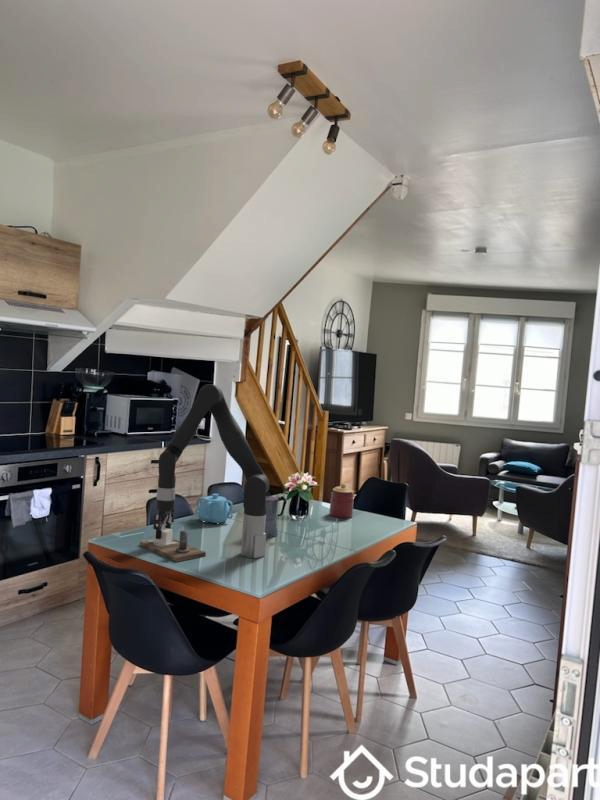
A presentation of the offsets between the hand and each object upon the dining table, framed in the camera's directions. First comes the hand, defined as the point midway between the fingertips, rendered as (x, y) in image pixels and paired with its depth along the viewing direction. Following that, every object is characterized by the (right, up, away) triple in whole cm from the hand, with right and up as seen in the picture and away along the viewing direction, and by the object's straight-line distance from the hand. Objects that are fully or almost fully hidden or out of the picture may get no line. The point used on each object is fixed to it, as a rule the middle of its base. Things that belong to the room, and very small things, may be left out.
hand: (163, 536), depth 253 cm
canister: (+79, -7, +80) cm, 113 cm away
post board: (+5, -5, -5) cm, 8 cm away
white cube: (0, -2, 0) cm, 2 cm away
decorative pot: (+14, -3, +47) cm, 49 cm away
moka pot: (+42, -6, +30) cm, 52 cm away
